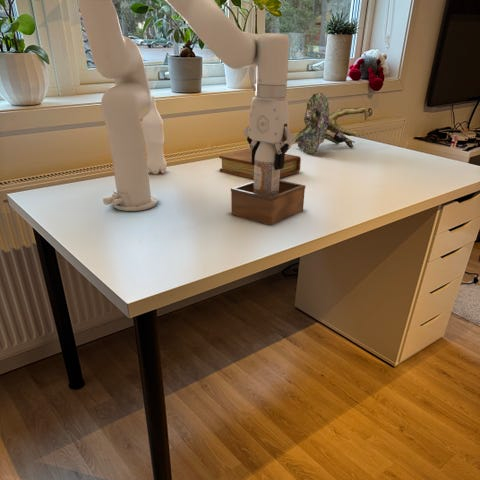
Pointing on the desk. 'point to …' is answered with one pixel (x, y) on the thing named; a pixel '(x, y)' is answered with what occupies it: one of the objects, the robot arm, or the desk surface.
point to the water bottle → (154, 140)
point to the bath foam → (266, 170)
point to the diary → (243, 166)
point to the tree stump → (323, 125)
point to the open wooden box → (267, 202)
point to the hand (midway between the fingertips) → (267, 165)
